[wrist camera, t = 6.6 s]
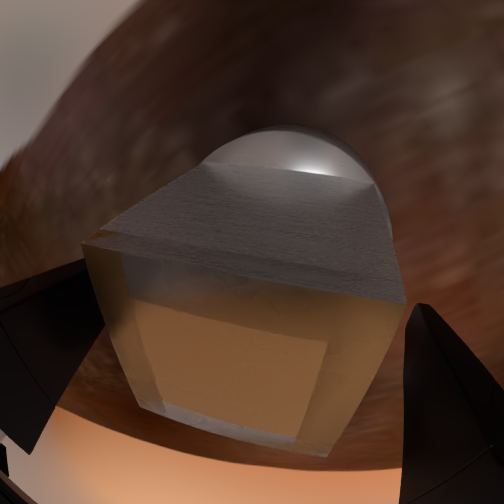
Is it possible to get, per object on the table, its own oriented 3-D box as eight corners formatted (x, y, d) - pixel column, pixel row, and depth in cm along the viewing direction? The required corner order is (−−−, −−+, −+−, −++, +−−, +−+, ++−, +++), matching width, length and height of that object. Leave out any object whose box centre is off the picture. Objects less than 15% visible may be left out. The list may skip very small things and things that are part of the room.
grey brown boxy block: (373, 182, 9) (406, 304, 4) (342, 318, 12) (326, 457, 7) (204, 161, 10) (80, 243, 5) (209, 293, 13) (139, 406, 8)
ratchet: (201, 118, 12) (106, 147, 7) (400, 141, 10) (451, 188, 5) (215, 397, 22) (186, 461, 17) (317, 420, 20) (302, 491, 15)
